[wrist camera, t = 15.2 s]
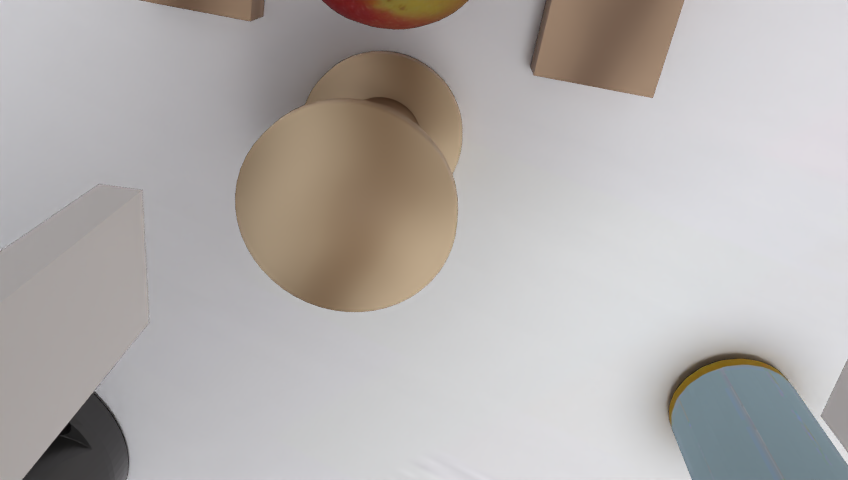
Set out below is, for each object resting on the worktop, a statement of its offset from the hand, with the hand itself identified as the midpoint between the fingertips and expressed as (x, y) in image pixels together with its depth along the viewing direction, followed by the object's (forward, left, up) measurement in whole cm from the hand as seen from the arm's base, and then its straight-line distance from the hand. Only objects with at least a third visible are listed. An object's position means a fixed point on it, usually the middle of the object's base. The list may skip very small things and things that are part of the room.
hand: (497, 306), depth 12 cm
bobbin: (-4, -4, -22) cm, 23 cm away
